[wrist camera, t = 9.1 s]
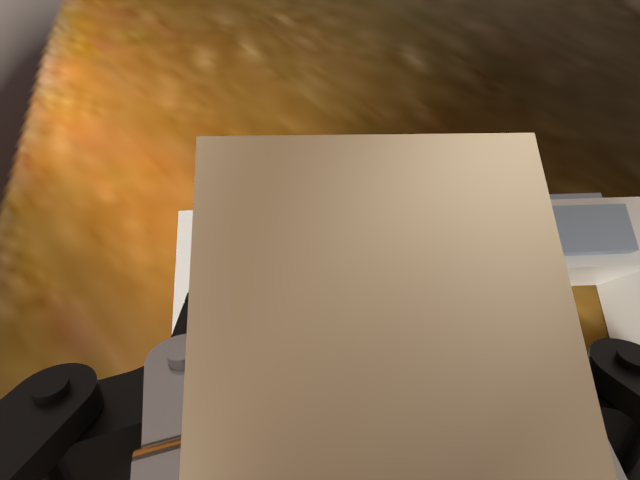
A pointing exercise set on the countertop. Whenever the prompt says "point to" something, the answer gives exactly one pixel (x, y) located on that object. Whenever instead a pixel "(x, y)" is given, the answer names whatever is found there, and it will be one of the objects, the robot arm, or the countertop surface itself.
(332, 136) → the beech plug
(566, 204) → the socket hub
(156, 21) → the countertop surface
